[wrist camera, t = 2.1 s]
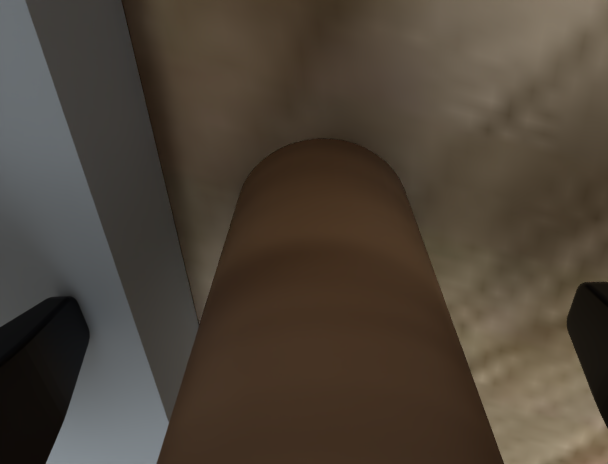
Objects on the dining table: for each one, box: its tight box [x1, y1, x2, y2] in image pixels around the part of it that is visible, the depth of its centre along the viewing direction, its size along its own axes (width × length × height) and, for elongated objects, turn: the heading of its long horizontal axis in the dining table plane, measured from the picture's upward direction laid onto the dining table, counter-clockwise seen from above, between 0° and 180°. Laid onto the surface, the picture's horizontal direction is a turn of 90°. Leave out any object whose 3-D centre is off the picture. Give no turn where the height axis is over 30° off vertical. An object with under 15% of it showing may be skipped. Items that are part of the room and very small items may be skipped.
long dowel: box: [157, 139, 504, 464], centre depth 7 cm, size 4×4×8 cm
